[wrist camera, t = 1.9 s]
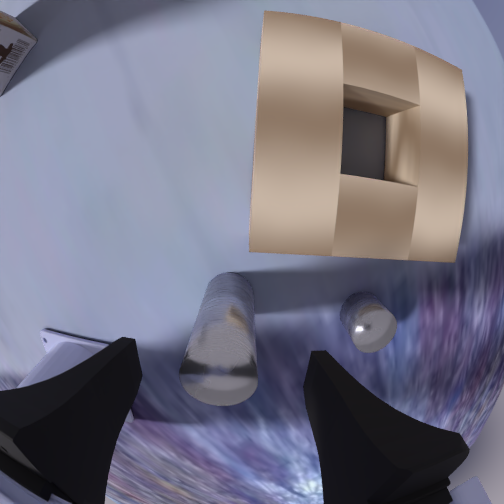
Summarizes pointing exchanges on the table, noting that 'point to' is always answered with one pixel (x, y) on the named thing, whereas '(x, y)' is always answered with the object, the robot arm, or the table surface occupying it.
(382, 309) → the short stub
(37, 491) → the robot arm
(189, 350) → the long pin
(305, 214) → the socket block
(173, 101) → the table surface
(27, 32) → the coffee box
